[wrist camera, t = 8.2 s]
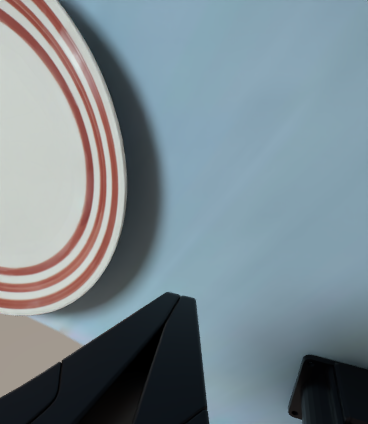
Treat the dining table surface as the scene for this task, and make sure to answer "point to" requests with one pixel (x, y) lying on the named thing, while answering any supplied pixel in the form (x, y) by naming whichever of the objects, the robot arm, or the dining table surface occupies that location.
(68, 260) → the dinner plate
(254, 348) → the dining table surface
